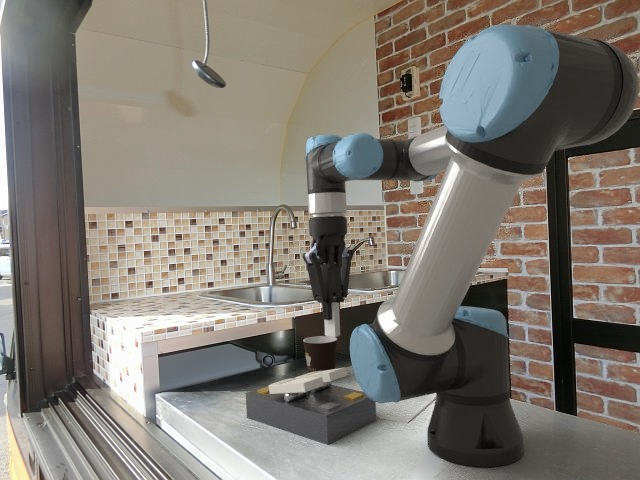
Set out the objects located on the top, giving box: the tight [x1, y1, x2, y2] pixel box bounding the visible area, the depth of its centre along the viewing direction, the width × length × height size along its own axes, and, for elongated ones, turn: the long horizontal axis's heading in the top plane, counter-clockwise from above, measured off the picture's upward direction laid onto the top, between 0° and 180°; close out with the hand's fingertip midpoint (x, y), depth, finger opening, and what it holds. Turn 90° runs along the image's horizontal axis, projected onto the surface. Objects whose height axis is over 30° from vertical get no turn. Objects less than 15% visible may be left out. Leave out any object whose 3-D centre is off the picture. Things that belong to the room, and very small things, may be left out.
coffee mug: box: [302, 335, 338, 373], centre depth 127 cm, size 12×9×10 cm
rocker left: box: [267, 377, 324, 394], centre depth 95 cm, size 10×5×2 cm, turn 47°
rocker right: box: [295, 367, 348, 382], centre depth 100 cm, size 10×5×2 cm, turn 47°
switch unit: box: [245, 376, 377, 446], centre depth 98 cm, size 22×14×6 cm, turn 47°
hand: (332, 335), depth 98 cm, fingers closed
